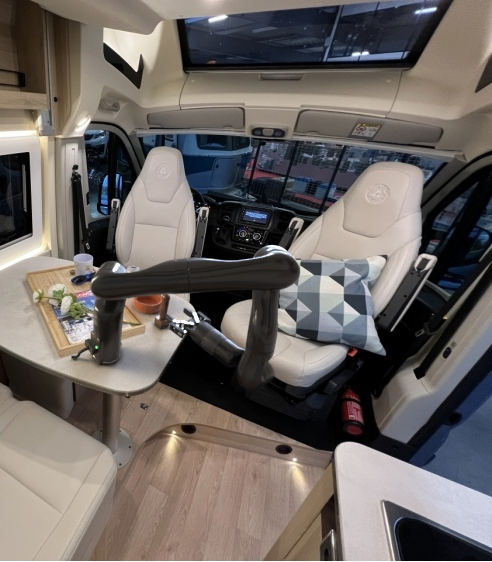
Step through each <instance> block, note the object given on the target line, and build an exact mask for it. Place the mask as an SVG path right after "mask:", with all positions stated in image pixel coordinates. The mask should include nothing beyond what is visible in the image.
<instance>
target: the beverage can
mask: <svg viewBox="0 0 492 562" xmlns="http://www.w3.org/2000/svg"><path fill="white" fill-rule="evenodd" d="M126 271H127V273H128V272H137V271H141V268H140V266H138V265H128V266H127V268H126Z"/></svg>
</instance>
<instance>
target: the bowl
mask: <svg viewBox="0 0 492 562" xmlns="http://www.w3.org/2000/svg"><path fill="white" fill-rule="evenodd" d="M162 296H163V295H153V296H140V297H133V300H132V306H133V308H134V309H135V310H136V311H138V312H139V313H142V314H147V315H149V314H150V315H151V314H156V313H158V312H160V311H161V304H162Z"/></svg>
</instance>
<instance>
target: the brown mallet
mask: <svg viewBox="0 0 492 562" xmlns="http://www.w3.org/2000/svg"><path fill="white" fill-rule="evenodd" d="M161 296H162V304H161V310H160V311H159V315H156V316H154V321H153V322H154V325H155V326H156V327H157V328H158V329H159V330H161V329H164V328H166V327H170V323H169V322H168V321H166V315H167V314H168V311H169V306H170V305H169V304H170V301H171V294H165V295H161Z"/></svg>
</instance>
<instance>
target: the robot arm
mask: <svg viewBox="0 0 492 562" xmlns="http://www.w3.org/2000/svg"><path fill="white" fill-rule="evenodd" d="M126 270H127V268H126V267H125V266H124V265H123V264H122V263H120V262H118V261H116V260H108V261H105V262H104V263H102V264H101V265H100V266H99V268H98V269H97V271H96V272H95V273H94V275H93V277H92V278H91V280H90V284H89V289H90V292H91V293H92V295H93V296H94V297H95V300H94V304H93V317H92V318H93V321H92V322H93V323H92V325H93V327H92V330H91V331H90V338H89V337H88V338H87V339H84V346H85V347H84V348H81V349H80V350H79V351H78V352H77V354H76V355H71V357H70V358H71V359H72V360H76V359H78V358H80V356H81V355H82V354H84V352H86V351H88V352H89V353H90V355H91V356H92V358H93V359H94V360H95V361H96V363H97V364H98V365H102V364H103V365H111V364H114V363H116V362H117V361H118V360H119V359H120V358H121V354H122V353H121V351H122V350H121V348H122V345H123V344H122V335H123V324H124V312H125V306H126V302H127V299H132V298H133V299H134V297H140V296H153V295H161V296H163V295H165V294H169V295H185V294H197V293H209V292H210V293H212V292H223V291H234V290H235V291H240V290H241V291H252V296H251V297H252V298H251V306H250V307H251V308H250V314H249V320H248V328H247V334H246V340H245V348H242V347H240V346H238V345H237V344H236V343H235V342H234V341H232V340H230V339H229V338H228V337H227V336H226V335H225V334H224V333H222V332H221V331H220V330H218V329H216V328H215V327H214V326H212V325H211V321H212V320H211V319H210V318H209V317H208V316H206V315H205V314H204V313H203V312H201V311H197V312H195V311H192V310H191V309H189V308H188V307H184V308H183V314H184V315H186V316H188V317H189V319H188V320H183V319H181V320H178V319H175V317H173V316H172V315H170V314H169V313H167V315H166V321H168V322H169V323H170V324H169V326H168V327H169V328H168V329H169V330H170V331H171V332H172V333H174V334H175V335H176V336H178V337H179V338H180V339H183V338H184V336H186V335H187V336H189V337H190V338H191V340H192V342H194V343H195V344H197V346H199V347H200V348H201V349H203V350H204V351H205V352H206V353H208V354H209V355H211V356H212V357H214V358H215V359H216V360H217V361H219V362H220V363H221V364H222V365H223V366H225V367H227V368H236V379H237V382H238V384H239V385H240V386H241V387H242V388H243V389H244V390H246V391H248V392H256V391H258V390H260V389H261V388H264V386H266V385H268V384H269V383H270V382H272V381H273V380H274V378H275V375H276V373H275V369H274V367H273V365H272V364H271V363H270V362H269V361H270V360H271V359H272V358H273V356H274V354H275V350H276V344H277V340H278V339H277V338H278V333H279V332H278V330H279V299H280V293H281V290H282V291H283V290H285V289H288V288H290V287H291V286H293V285H294V284H295V283H296V282H297V281H298V280H299V278H300V276H301V267H300V265H299V263H298V261H297V260H296V258H295V257H294V256H293V255H292V254H291V253H290V252H289V251H287V250H286V249H285V248H284V247H282V246H278V245H273V244H271V245H265V246H263V247H261V248H260V249H258V250H257V251H256V252H255V253H254V255H253V257H252V258H247V259H239V260H225V259H217V258H210V257H209V258H208V257H197V256H195V257H184V258H183V257H182V258H174V259H168V260H165V261H162V262H159V263H157V264H155V265H151V266H150V267H146V268H144V269H140V271H137V272H128V273H127V271H126ZM182 325H183V327H182Z"/></svg>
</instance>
